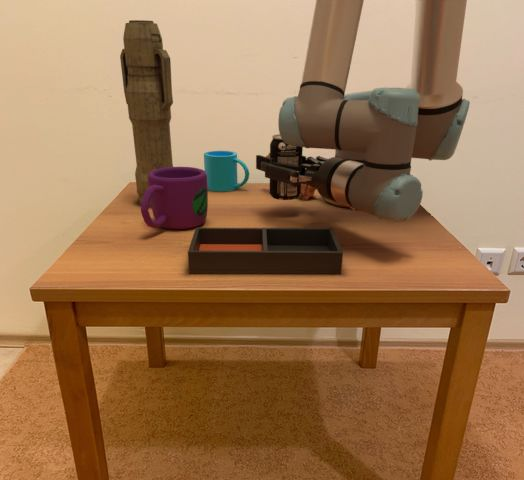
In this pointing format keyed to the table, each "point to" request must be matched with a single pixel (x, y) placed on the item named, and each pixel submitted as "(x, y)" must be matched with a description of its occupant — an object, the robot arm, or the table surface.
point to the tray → (265, 251)
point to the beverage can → (287, 156)
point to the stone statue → (147, 98)
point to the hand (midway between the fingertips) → (272, 160)
